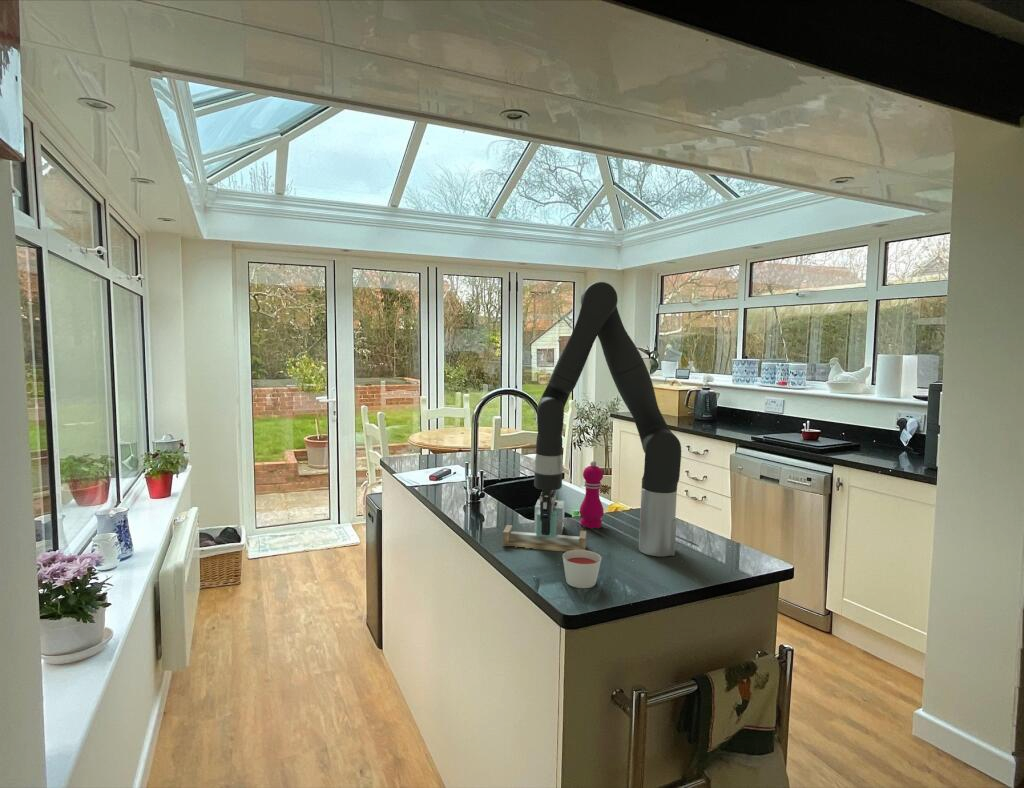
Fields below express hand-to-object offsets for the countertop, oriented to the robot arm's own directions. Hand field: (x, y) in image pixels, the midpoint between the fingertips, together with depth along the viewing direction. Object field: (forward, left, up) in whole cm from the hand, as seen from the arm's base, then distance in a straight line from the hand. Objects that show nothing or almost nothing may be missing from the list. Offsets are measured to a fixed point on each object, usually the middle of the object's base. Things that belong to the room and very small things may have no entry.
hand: (546, 531), depth 164 cm
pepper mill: (-12, -20, -4) cm, 24 cm away
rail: (0, 0, -4) cm, 4 cm away
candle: (-11, +22, -4) cm, 25 cm away
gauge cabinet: (0, -13, -4) cm, 14 cm away
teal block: (0, 0, -1) cm, 1 cm away
